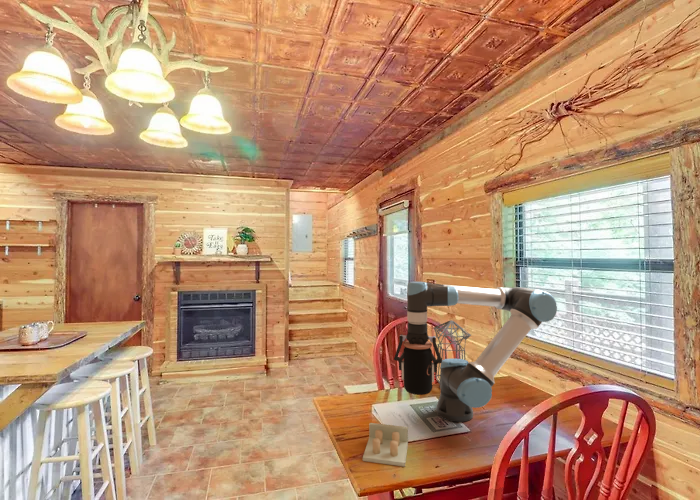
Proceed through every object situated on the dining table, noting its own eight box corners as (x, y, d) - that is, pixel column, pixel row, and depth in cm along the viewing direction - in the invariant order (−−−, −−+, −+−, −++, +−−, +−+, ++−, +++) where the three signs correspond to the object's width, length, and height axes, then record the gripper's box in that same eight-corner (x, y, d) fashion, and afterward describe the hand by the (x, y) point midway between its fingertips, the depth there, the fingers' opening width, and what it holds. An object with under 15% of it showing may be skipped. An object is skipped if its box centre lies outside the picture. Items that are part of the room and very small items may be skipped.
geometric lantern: (460, 383, 185) (461, 317, 184) (471, 396, 170) (472, 324, 169) (430, 383, 185) (431, 317, 184) (438, 396, 169) (440, 324, 168)
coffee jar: (432, 396, 129) (432, 347, 129) (403, 394, 131) (402, 346, 131) (431, 385, 139) (431, 340, 139) (404, 383, 141) (404, 339, 141)
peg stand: (407, 443, 128) (407, 426, 128) (405, 466, 114) (405, 448, 114) (369, 438, 131) (369, 422, 131) (362, 460, 117) (362, 442, 117)
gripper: (448, 321, 136) (448, 378, 136) (388, 319, 141) (388, 374, 141) (449, 325, 129) (449, 385, 129) (386, 323, 134) (386, 380, 134)
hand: (417, 379), depth 135 cm, fingers closed on coffee jar, 11 cm apart
